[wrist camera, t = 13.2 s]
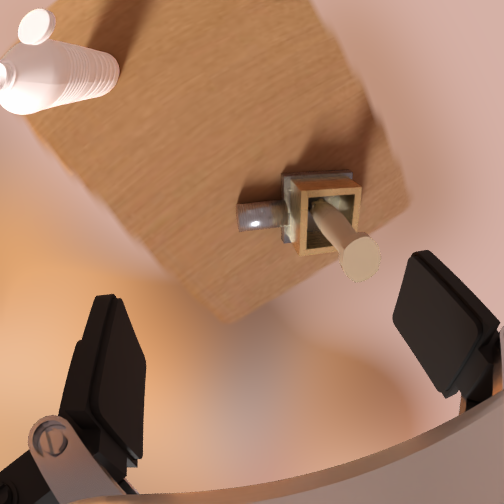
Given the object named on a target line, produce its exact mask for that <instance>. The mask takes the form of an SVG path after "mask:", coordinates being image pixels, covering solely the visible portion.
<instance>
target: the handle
mask: <svg viewBox="0 0 504 504" xmlns="http://www.w3.org/2000/svg"><path fill="white" fill-rule="evenodd" d="M311 205H312V208H311V210H310V214H311V216H312V217H313V219H314V221H315V223H316V224H317V226H318V228H319V229H320V231H321V232H322V233H323V235H324V236H325V237H326V238H327V239H328V240H329V241H330V242H331V244H332V245H333V246H334V247H335V248H336V249H337V251H338V252H339V262H340V265H341V267H342V269H343V271H344V273H345V274H346V275H347V277H348V278H350V279H351V280H352V281H354V282H362V281H365V280H367V279H369V278H370V277H372V276H373V275H374V274H375V273H376V272H377V271H378V268H379V264H380V260H381V256H380V251H379V247H378V245H377V244H376V242H375V241H374V240H373V239H372V238H371V237H370V236H369V235H368V234H366V233H365V232H358V233H357V232H356V231H355V230H354V228H353V227H352V226H351V224H350V223H349V222H348V220H347V219H346V218H345V217H344V215H343V214H342V213H341V212H340V211H339V210H338V209H337V208H335V207H334V206H333V205H331V204H330V203H328V202H325V201H324V200H323V199H321V198H320V199H318V200H317V201H315V202H312V203H311Z"/></svg>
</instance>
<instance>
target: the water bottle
mask: <svg viewBox="0 0 504 504" xmlns="http://www.w3.org/2000/svg"><path fill="white" fill-rule="evenodd" d="M55 24H56V19H55V16H54V14H53V13H52V12H51V11H48V10H45V9H41V8H39V9H35V10H32V11H31V12H29V13H28V14H27V15H26V16H25V17H24V18H23V19H22V21H21V23H20V25H19V28H18V37H19V39H20V41H21V42H19V43H18V44H16V45H15V46H13V47H12V48H11V49H10V50H9V51H8V52H7V53H6V54H5V55H4V56H3V58H2V59H1V60H0V104H1V105H2V107H4V108H5V109H6V110H8V111H9V112H12V113H15V114H21V115H25V114H31V113H35V112H38V111H41V110H44V109H48V108H51V107H55V106H59V105H63V104H68V103H72V102H76V101H81V100H85V99H90V98H95V97H100V96H103V95H105V94H106V93H108V92H109V91H110V90H111V89H112V88H113V87H114V86H115V84H116V83H117V81H118V77H119V65H118V63H117V61H116V59H115V58H114V57H113V56H112V55H110V54H108V53H105V52H102V51H98V50H94V49H90V48H87V47H83V46H79V45H74V44H69V43H65V42H60V41H56V40H51V39H48V38H49V37H50V35H51V34H52V32H53V30H54V28H55Z"/></svg>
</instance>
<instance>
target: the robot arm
mask: <svg viewBox="0 0 504 504" xmlns="http://www.w3.org/2000/svg"><path fill="white" fill-rule="evenodd" d="M393 323H394V325H395V327H396V328H397V329H398V331H399V332H400V334H401V335H402V337H403V338H404V340H405V341H406V343H407V344H408V346H409V347H410V349H411V350H412V352H413V353H414V355H415V356H416V358H417V359H418V361H419V362H420V364H421V365H422V367H423V369H424V370H425V372H426V373H427V375H428V376H429V378H430V379H431V381H432V383H433V384H434V386H435V387H436V389H437V390H438V391H439V392H442V394H443V396H444V397H445V398H448V397H450V396H452V395H454V394H456V393H457V392H458V390H460V392H461V402H460V409H459V416H457V417H455V418H453V419H452V420H449V421H448V422H446V423H444V424H442V425H440V426H438V427H436V428H434V429H432V430H429V431H427V432H425V433H423V434H421V435H418V436H416V437H414V438H412V439H409V440H407V441H405V442H402V443H400V444H398V445H395V446H393V447H390V448H388V449H385V450H382V451H380V452H377V453H375V454H372V455H369V456H366V457H363V458H360V459H358V460H354V461H351V462H348V463H346V464H342V465H338V466H335V467H332V468H328V469H325V470H321V471H317V472H313V473H309V474H306V475H301V476H297V477H293V478H288V479H283V480H278V481H274V482H268V483H262V484H257V485H250V486H244V487H236V488H228V489H220V490H211V491H200V492H186V493H169V494H168V493H167V494H166V493H165V494H139V493H138V492H137V491H136V489H135V488H134V487H133V486H132V485H131V484H130V483H129V482H128V481H127V479H126V478H125V477H126V476H127V475H126V474H127V473H126V472H127V467H137V459H141V458H142V456H143V416H144V395H145V378H146V360H145V357H144V354H143V352H142V349H141V347H140V345H139V342H138V340H137V337H136V335H135V332H134V330H133V327H132V325H131V322H130V319H129V317H128V314H127V311H126V309H125V306H124V303H123V301H122V299H121V298H116V296H115V295H114V294H109V295H100V296H96V297H95V299H94V302H93V305H92V308H91V311H90V314H89V317H88V321H87V324H86V327H85V330H84V334H83V337H82V340H79V341H78V342H77V344H76V346H75V350H74V353H73V357H72V360H71V364H70V368H69V371H68V375H67V379H66V384H65V387H64V392H63V396H62V400H61V404H60V409H59V414H58V416H54V415H51V416H45V417H43V418H41V419H40V420H38V421H37V422H36V423H35V424H34V425H33V427H32V428H31V430H30V433H29V436H28V446H29V450H28V451H27V452H25V453H24V454H23V455H21V456H20V457H19V458H18V459H16V460H15V461H14V462H12V463H11V464H10V465H9V466H7V467H6V468H5V469H3V470H2V471H1V472H0V504H504V326H503V327H502V328H501V330H500V332H498V331H497V328H498V326H499V324H500V322H499V320H498V319H497V318H496V317H495V316H494V315H493V314H492V313H491V312H490V310H489V309H488V308H487V307H486V306H485V305H484V304H483V303H482V302H481V301H480V300H479V299H478V298H477V297H476V295H474V293H473V292H472V291H471V290H470V289H469V288H468V287H467V286H466V285H465V284H464V283H463V282H462V281H461V280H460V279H459V278H458V277H457V276H456V275H454V273H453V272H452V271H450V269H449V268H447V267H446V266H445V265H444V264H443V263H442V262H441V261H440V260H439V259H438V258H437V257H436V256H435V255H434V254H433V253H432V252H430V251H429V250H424V251H418V252H414V253H413V254H412V255H411V257H410V258H409V259H408V262H407V266H406V270H405V274H404V278H403V282H402V285H401V289H400V292H399V296H398V299H397V303H396V306H395V310H394V313H393Z"/></svg>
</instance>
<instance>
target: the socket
mask: <svg viewBox="0 0 504 504" xmlns="http://www.w3.org/2000/svg"><path fill="white" fill-rule="evenodd" d="M352 176H353V172H351V171H350V170H332V171H313V172H297V173H283V174H281V200H273V201H263V202H254V203H244V204H236V216H237V224H238V229H239V232H242V231H250V230H259V229H267V228H276V227H281V239H282V241H283V243H292V244H293V246H294V248H295V250H296V252H297V253H298V255H299V256H306V255H314V254H321V253H328V252H336V251H337V249H336V248H335V247H334V246H333V245H332V244H331V242H330V241H329V240H328V239H327V238H326V237H325V236H324V235H323V233H322V232H321V231H320V229H319V228H318V226H317V224H316V223H315V221H314V219H313V217H312V216H311V214H310V210H311V208H312V205H311V203H312V202H315V201H317V200H318V199H320V198H321V199H323V200H324V201H325V202H328V203H330V204H331V205H333V206H334V207H335V208H337V209H338V210H339V211H340V212H341V213H342V214H343V215H344V217H345V218H346V219H347V220H348V222H349V223H350V224H351V226H352V227H353V228H354V230H355V231H356V232H357V228H358V220H359V211H360V202H361V192H362V187H361V186H360V185H358V184H357V183H356V182H354V181H353V180H352Z"/></svg>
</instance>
